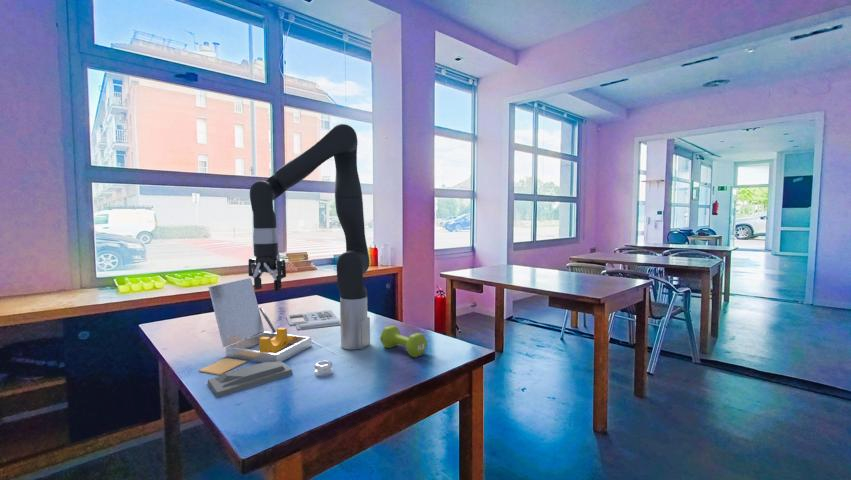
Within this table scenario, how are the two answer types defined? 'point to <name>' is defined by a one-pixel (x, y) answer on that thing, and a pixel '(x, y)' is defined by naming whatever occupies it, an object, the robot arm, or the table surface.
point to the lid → (236, 311)
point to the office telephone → (315, 320)
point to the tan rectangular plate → (222, 366)
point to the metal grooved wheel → (323, 368)
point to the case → (242, 352)
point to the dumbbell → (404, 341)
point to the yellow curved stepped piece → (274, 341)
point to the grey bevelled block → (248, 377)
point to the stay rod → (267, 319)
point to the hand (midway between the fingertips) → (267, 290)
